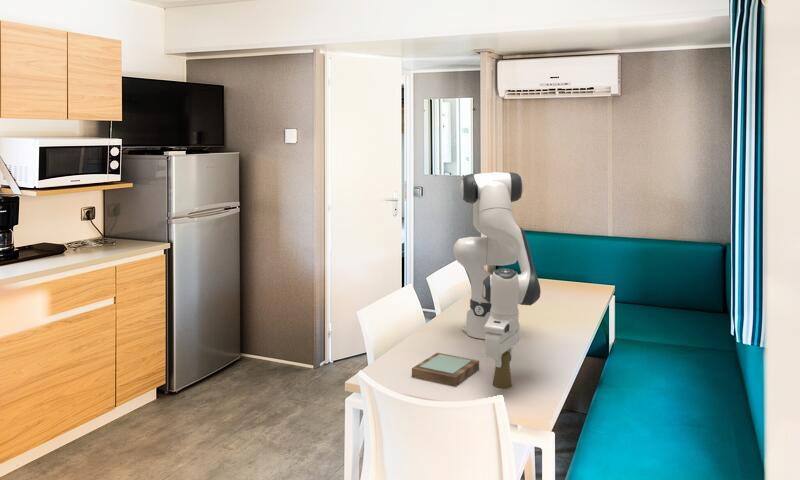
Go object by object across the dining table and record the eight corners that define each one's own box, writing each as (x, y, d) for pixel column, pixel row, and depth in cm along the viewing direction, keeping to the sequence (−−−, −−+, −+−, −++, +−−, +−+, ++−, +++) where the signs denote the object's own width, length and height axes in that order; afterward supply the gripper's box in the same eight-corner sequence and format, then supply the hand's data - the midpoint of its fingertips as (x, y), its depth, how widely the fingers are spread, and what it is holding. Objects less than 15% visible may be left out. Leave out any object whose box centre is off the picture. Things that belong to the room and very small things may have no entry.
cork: (509, 381, 210) (510, 348, 208) (513, 388, 204) (514, 354, 202) (491, 381, 210) (492, 348, 208) (494, 388, 204) (495, 354, 202)
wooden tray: (437, 360, 229) (437, 351, 228) (479, 369, 221) (479, 359, 220) (411, 376, 213) (411, 367, 213) (455, 386, 205) (455, 376, 205)
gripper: (506, 311, 214) (505, 352, 216) (481, 327, 197) (480, 371, 199) (525, 314, 211) (523, 355, 213) (501, 330, 193) (500, 375, 196)
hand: (502, 363), depth 206 cm, fingers closed on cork, 5 cm apart
